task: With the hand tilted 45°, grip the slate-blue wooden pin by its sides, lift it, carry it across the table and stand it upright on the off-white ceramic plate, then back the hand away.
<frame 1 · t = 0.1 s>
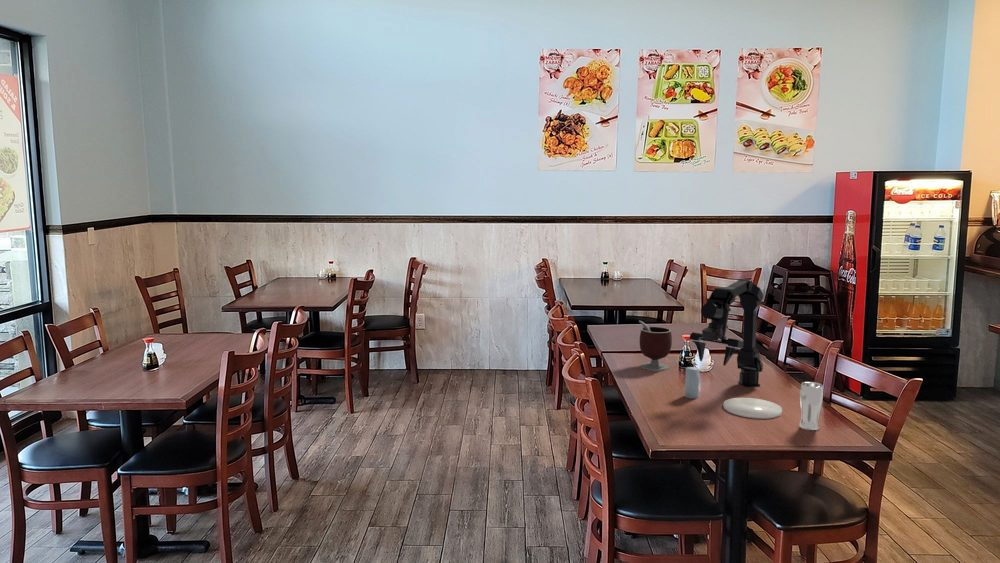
hand: (712, 363, 257), 15 cm above the table, tool pointing down, fingers open, 9 cm apart
mate gourd: (652, 367, 310), on the table
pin: (691, 396, 268), on the table
plate: (752, 409, 253), on the table
beer glass: (809, 428, 235), on the table
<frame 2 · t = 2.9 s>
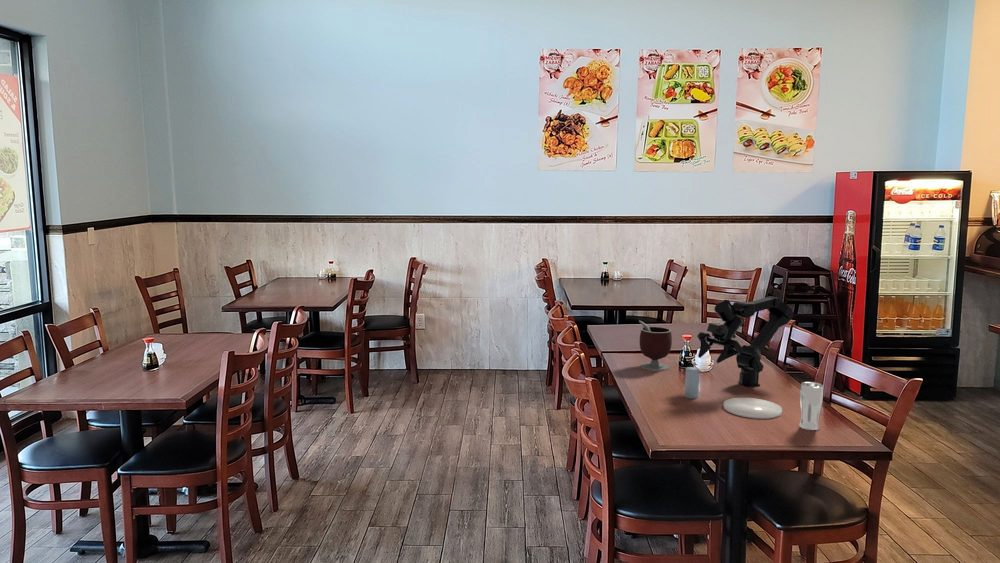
hand: (707, 359, 270), 13 cm above the table, tool tilted 45°, fingers open, 9 cm apart
nothing on the table moved.
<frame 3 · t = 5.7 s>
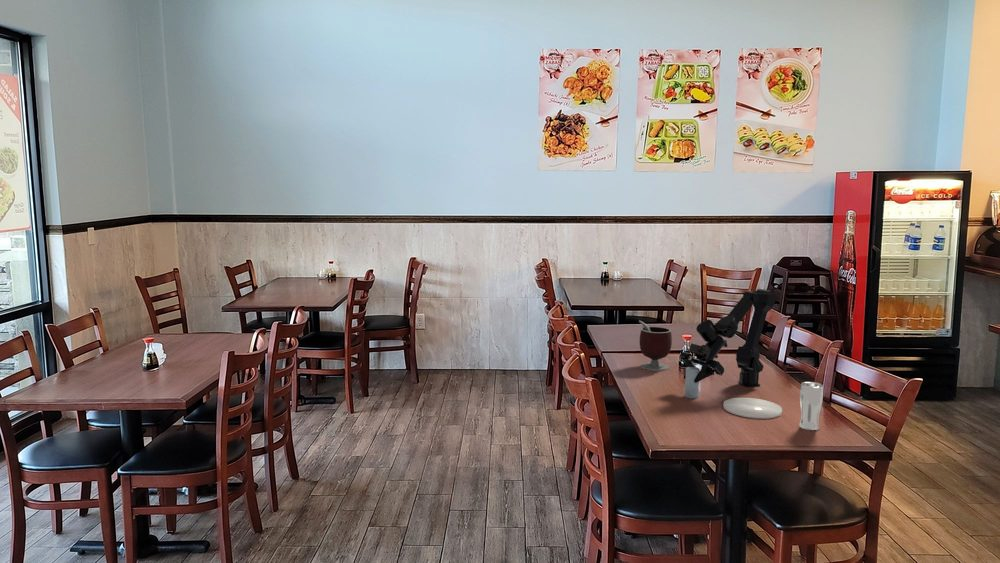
hand: (689, 380, 266), 7 cm above the table, tool tilted 45°, fingers closed on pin, 5 cm apart
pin: (691, 396, 268), on the table, touching gripper
everything else where it was.
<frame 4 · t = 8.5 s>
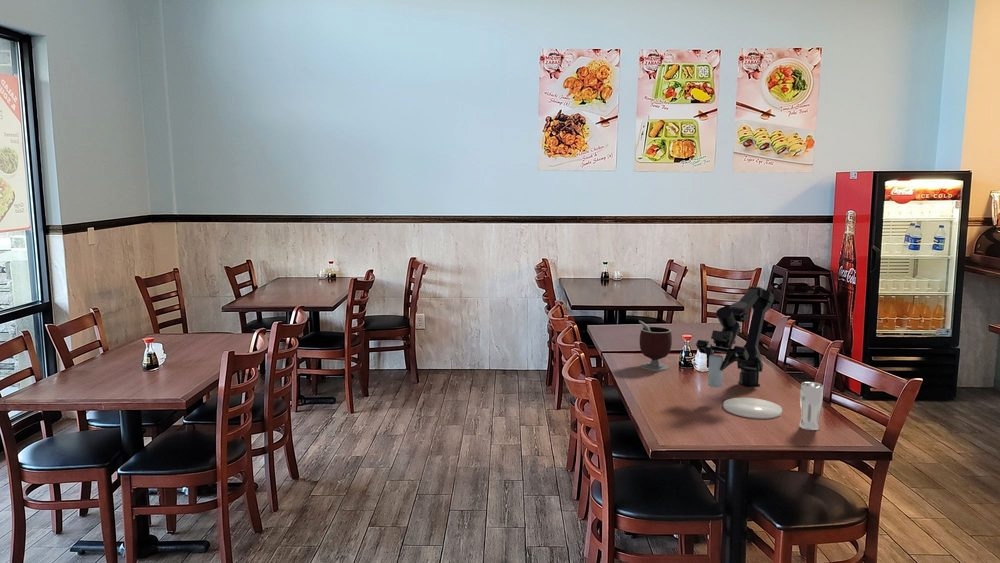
hand: (714, 368, 257), 13 cm above the table, tool tilted 45°, fingers closed on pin, 5 cm apart
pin: (714, 385, 259), point 7 cm above the table, touching gripper
everything else where it was.
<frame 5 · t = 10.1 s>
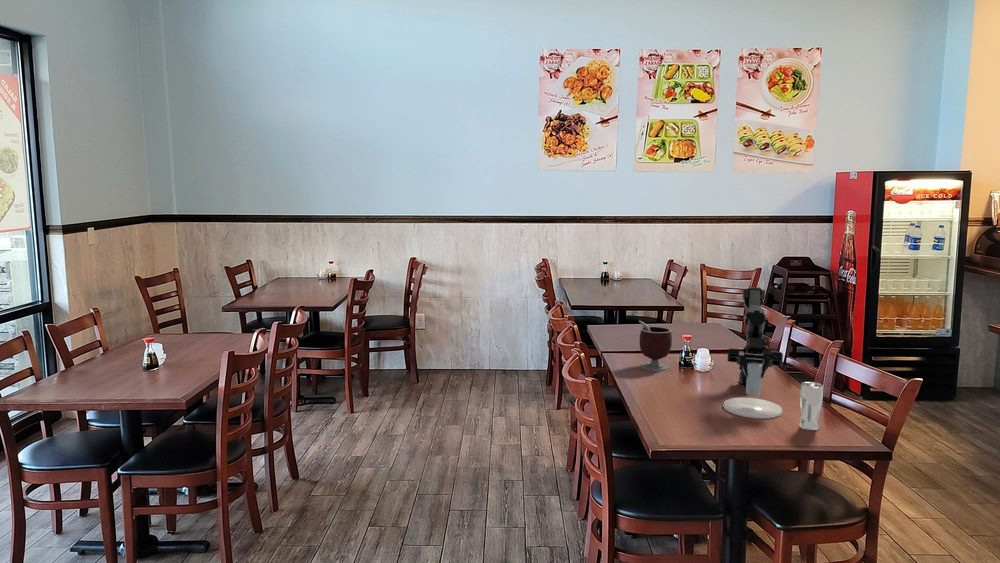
hand: (754, 377, 250), 12 cm above the table, tool tilted 45°, fingers closed on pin, 5 cm apart
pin: (753, 393, 252), point 6 cm above the table, touching gripper
everything else where it was.
when the fingers open (9 cm above the table, at t = 11.1 s): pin drops 1 cm, resting on plate.
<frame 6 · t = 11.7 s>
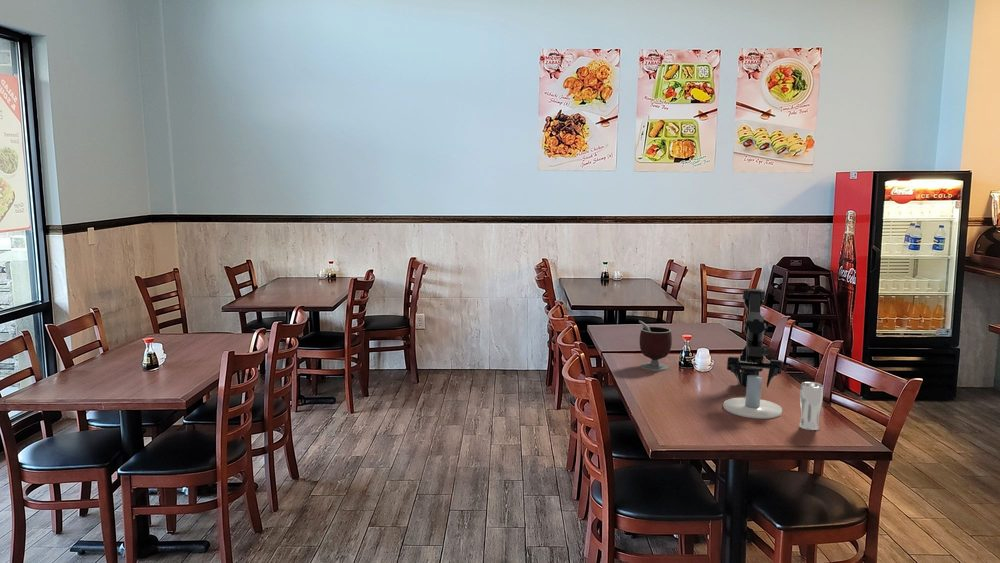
hand: (753, 385, 251), 9 cm above the table, tool tilted 45°, fingers open, 9 cm apart
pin: (752, 406, 253), point 1 cm above the table, touching plate
everything else where it was.
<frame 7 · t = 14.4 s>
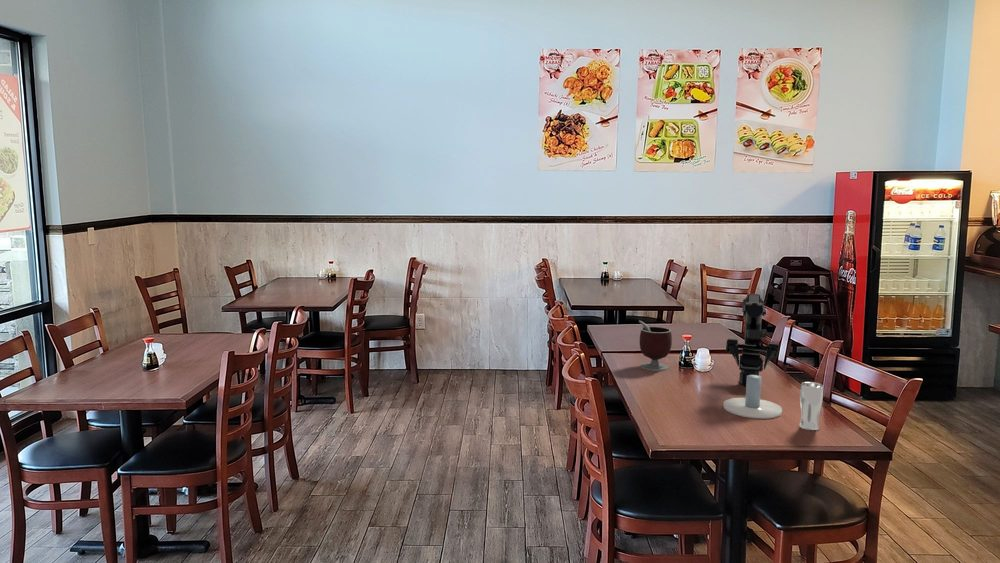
hand: (751, 367, 259), 13 cm above the table, tool tilted 45°, fingers open, 9 cm apart
nothing on the table moved.
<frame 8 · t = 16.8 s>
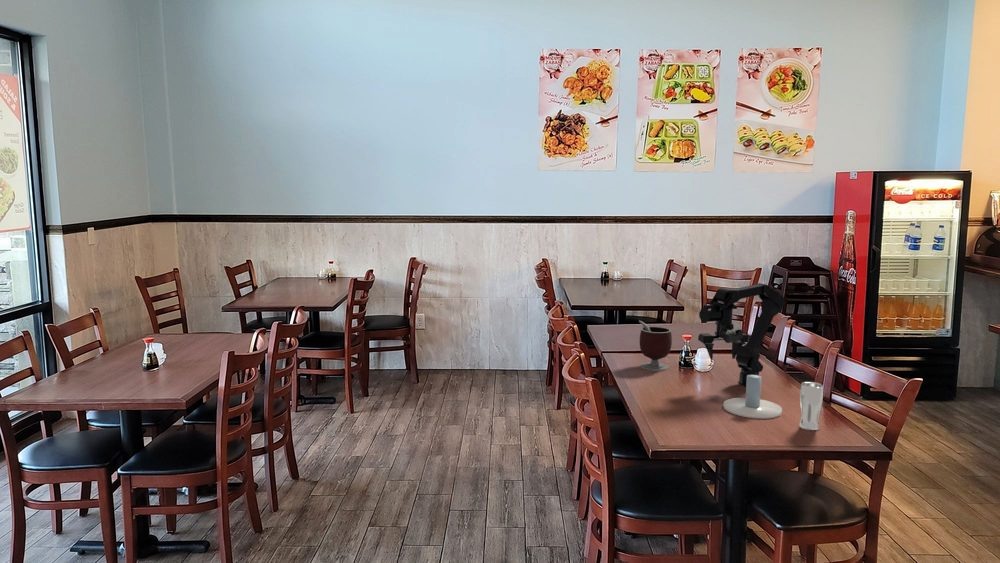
hand: (722, 359, 277), 12 cm above the table, tool pointing down, fingers open, 9 cm apart
nothing on the table moved.
at the end: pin inside the target area on the plate (0.0 cm from its centre), point 1.2 cm above the plate's base; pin tilted 0°; the gripper is holding nothing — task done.
